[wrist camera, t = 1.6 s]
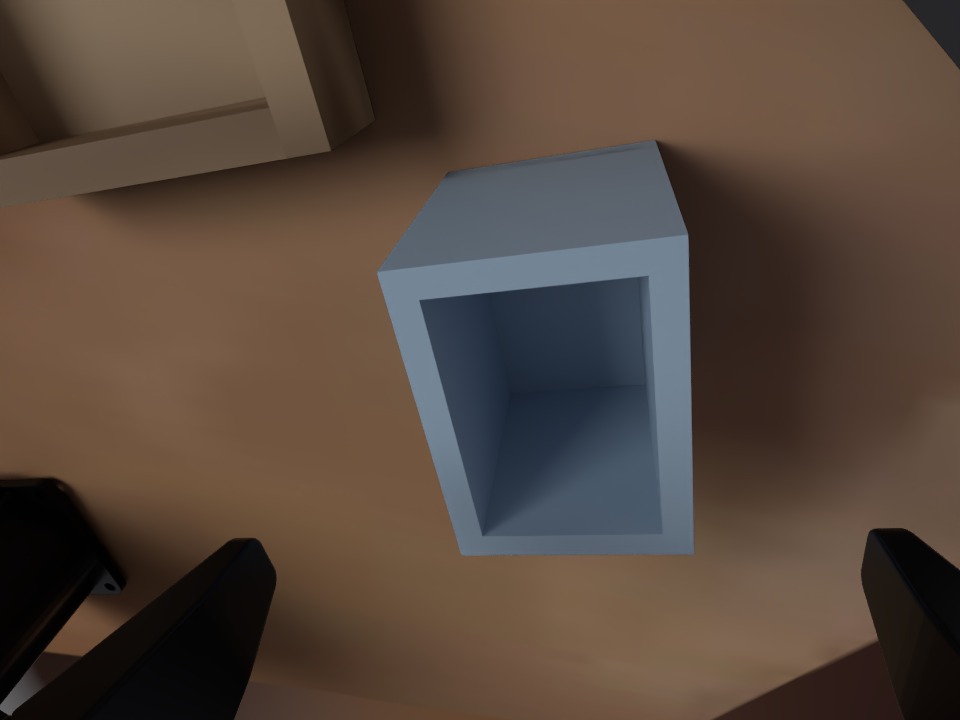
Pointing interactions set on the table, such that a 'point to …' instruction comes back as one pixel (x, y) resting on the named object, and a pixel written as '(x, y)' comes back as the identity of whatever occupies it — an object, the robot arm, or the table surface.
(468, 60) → the table surface
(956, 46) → the grey and red box
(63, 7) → the walnut crate
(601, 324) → the small crate
